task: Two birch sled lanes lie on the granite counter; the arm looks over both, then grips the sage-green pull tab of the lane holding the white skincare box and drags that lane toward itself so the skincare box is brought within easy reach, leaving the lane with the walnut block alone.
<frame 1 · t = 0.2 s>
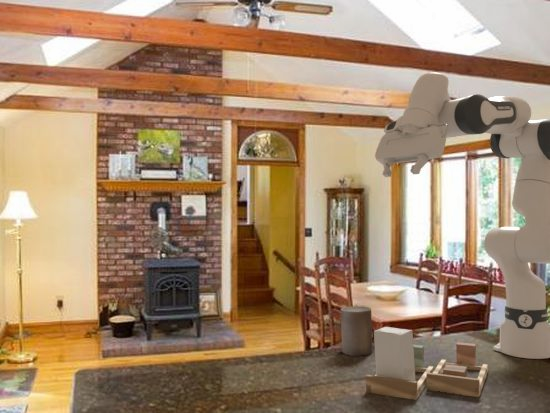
hand: (399, 174, 133), 54 cm above the countertop, tool tilted 30°, fingers open, 8 cm apart
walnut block: (455, 388, 134), resting in lane B
pillar candle: (356, 352, 168), on the countertop
lane B: (460, 366, 141), point 3 cm above the countertop, slide at 0.0 cm
skincare box: (395, 389, 133), resting in lane A
lane A: (403, 368, 140), point 3 cm above the countertop, slide at 0.0 cm
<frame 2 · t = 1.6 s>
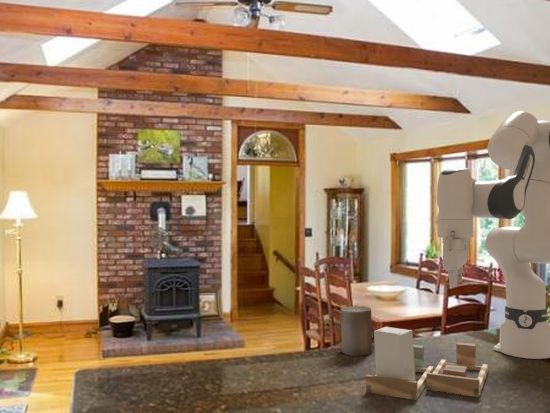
hand: (455, 284, 137), 25 cm above the countertop, tool pointing down, fingers open, 8 cm apart
nothing on the countertop moved.
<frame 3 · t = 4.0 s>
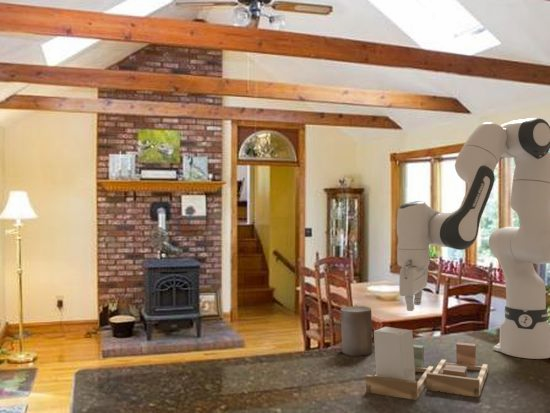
hand: (414, 307, 151), 17 cm above the countertop, tool pointing down, fingers open, 8 cm apart
nothing on the countertop moved.
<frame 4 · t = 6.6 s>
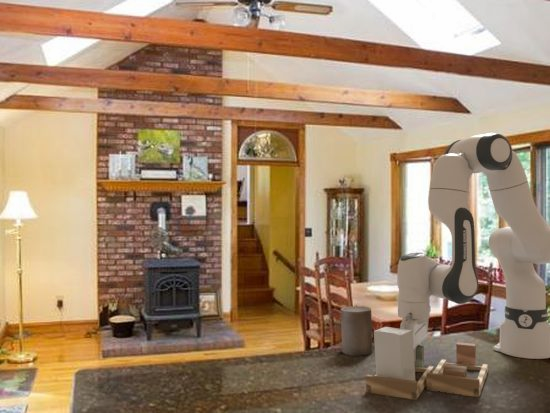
hand: (414, 359, 151), 2 cm above the countertop, tool pointing down, fingers closed on lane A, 2 cm apart
lane A: (403, 368, 140), point 3 cm above the countertop, slide at 0.0 cm, touching gripper
everything else where it was.
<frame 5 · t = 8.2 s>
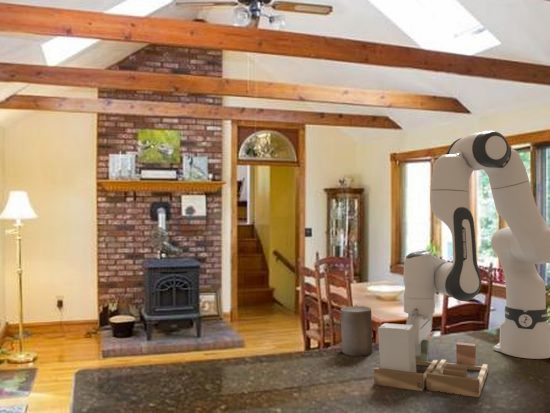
hand: (419, 353, 157), 2 cm above the countertop, tool pointing down, fingers closed on lane A, 2 cm apart
skincare box: (397, 383, 138), resting in lane A
lane A: (409, 361, 146), point 3 cm above the countertop, slide at 6.7 cm, touching gripper, skincare box
everything else where it was.
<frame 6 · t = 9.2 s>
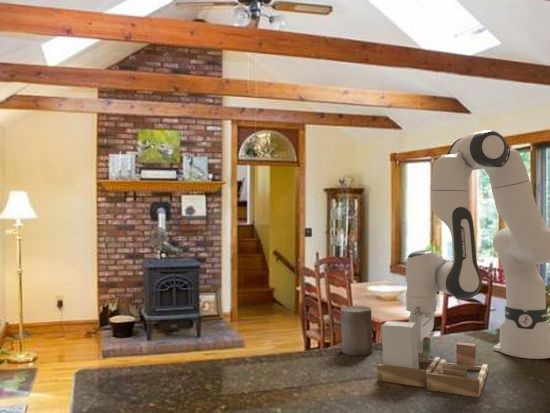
hand: (421, 350, 160), 2 cm above the countertop, tool pointing down, fingers closed on lane A, 2 cm apart
skincare box: (400, 379, 141), resting in lane A
lane A: (412, 358, 149), point 3 cm above the countertop, slide at 9.9 cm, touching gripper, skincare box
everything else where it was.
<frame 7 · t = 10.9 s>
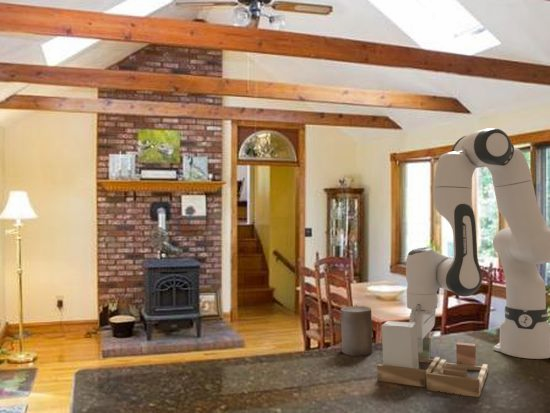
hand: (423, 348, 160), 3 cm above the countertop, tool pointing down, fingers open, 8 cm apart
skincare box: (400, 379, 141), resting in lane A
lane A: (412, 358, 149), point 3 cm above the countertop, slide at 9.9 cm
everything else where it was.
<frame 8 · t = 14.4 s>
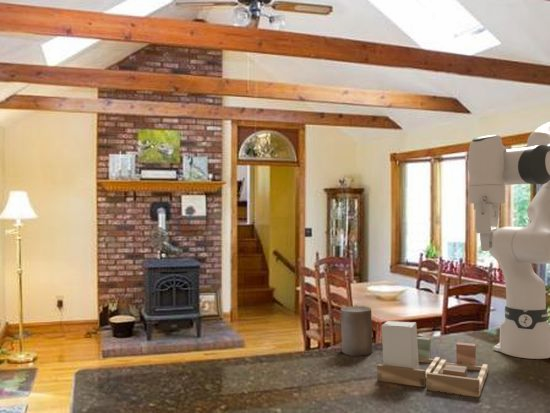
hand: (487, 249, 140), 34 cm above the countertop, tool pointing down, fingers open, 8 cm apart
nothing on the countertop moved.
at the end: lane A slide at 9.9 cm; skincare box inside the target area (2.4 cm from its centre), resting in lane A; skincare box tilted 0° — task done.
